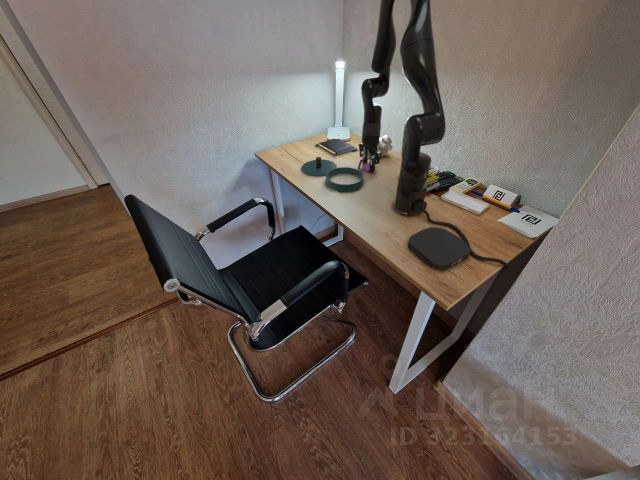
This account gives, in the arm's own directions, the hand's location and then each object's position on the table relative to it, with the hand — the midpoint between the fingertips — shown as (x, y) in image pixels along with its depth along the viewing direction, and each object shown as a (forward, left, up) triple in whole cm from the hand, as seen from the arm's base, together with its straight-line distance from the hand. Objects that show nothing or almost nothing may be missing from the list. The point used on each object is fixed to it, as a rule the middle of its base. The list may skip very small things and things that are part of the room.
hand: (368, 169), depth 121 cm
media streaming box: (-54, +14, -1) cm, 56 cm away
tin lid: (+15, +18, 0) cm, 23 cm away
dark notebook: (+32, -2, -1) cm, 32 cm away
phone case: (-41, -14, -1) cm, 43 cm away
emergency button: (-20, -12, -1) cm, 23 cm away
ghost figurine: (+10, -16, -1) cm, 19 cm away
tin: (-3, +15, -1) cm, 15 cm away
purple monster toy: (0, 0, -1) cm, 1 cm away
